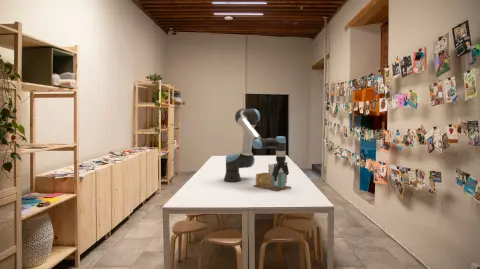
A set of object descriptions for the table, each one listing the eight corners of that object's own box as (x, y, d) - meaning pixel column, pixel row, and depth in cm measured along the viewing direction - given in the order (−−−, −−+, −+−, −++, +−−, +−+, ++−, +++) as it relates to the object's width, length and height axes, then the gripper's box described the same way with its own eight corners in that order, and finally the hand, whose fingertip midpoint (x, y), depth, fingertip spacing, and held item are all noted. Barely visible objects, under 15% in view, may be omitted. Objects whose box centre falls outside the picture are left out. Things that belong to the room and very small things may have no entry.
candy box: (284, 182, 312) (284, 163, 311) (284, 183, 306) (284, 164, 305) (268, 181, 313) (268, 163, 313) (268, 183, 308) (268, 164, 307)
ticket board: (253, 186, 294) (253, 173, 293) (266, 183, 305) (266, 171, 304) (278, 191, 275) (278, 177, 275) (291, 188, 287) (291, 175, 286)
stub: (271, 186, 287) (271, 172, 286) (275, 185, 290) (275, 171, 290) (281, 187, 280) (281, 173, 279) (285, 187, 283) (285, 172, 283)
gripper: (275, 157, 272) (275, 186, 273) (293, 155, 288) (293, 182, 289) (267, 157, 277) (267, 185, 278) (286, 154, 293) (285, 181, 294)
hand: (280, 184), depth 283 cm, fingers open, 10 cm apart
